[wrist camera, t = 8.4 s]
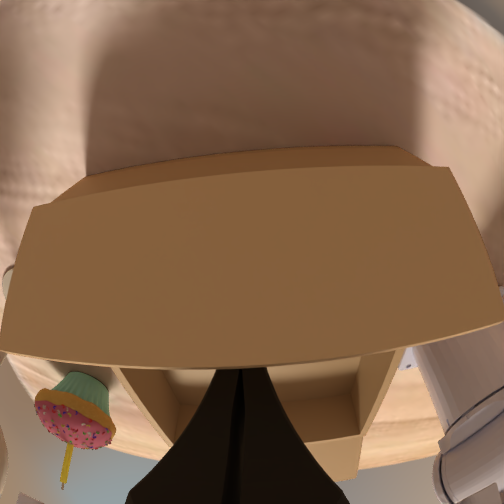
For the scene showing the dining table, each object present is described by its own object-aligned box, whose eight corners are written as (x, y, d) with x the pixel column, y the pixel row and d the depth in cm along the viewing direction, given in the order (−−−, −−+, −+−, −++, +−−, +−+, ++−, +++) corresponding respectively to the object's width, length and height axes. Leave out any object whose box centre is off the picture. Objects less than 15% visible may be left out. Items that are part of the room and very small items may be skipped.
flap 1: (7, 353, 8) (-2, 349, 7) (39, 213, 11) (33, 206, 10) (498, 324, 7) (507, 319, 7) (444, 175, 10) (448, 167, 9)
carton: (397, 146, 14) (447, 175, 10) (354, 391, 26) (365, 435, 21) (85, 176, 15) (36, 214, 11) (176, 402, 26) (169, 447, 22)
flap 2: (356, 478, 22) (355, 474, 22) (362, 436, 21) (361, 432, 22) (185, 487, 23) (186, 484, 23) (171, 447, 22) (172, 443, 22)
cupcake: (130, 412, 28) (110, 508, 18) (65, 395, 28) (36, 480, 17) (115, 369, 24) (80, 489, 14) (40, 349, 23) (-6, 449, 13)
